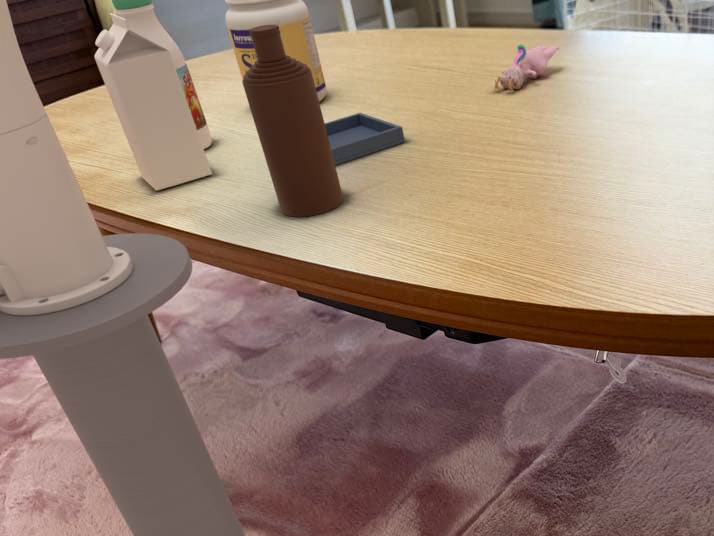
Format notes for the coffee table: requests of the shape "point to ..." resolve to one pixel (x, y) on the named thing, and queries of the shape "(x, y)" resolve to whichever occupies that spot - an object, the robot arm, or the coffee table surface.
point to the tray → (361, 136)
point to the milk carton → (150, 106)
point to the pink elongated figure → (526, 66)
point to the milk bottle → (140, 17)
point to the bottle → (291, 128)
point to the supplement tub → (287, 10)
